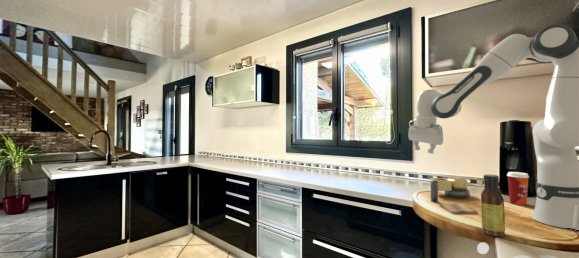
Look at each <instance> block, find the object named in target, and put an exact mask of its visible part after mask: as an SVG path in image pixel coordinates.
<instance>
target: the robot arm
mask: <svg viewBox="0 0 579 258" xmlns="http://www.w3.org/2000/svg"><path fill="white" fill-rule="evenodd" d="M523 60H528V61H532V62H536V63H541V64H553V73H552V76H551V80H550V84H549V87H548V88H547V89H548V90H547V93H546V97H545V114H544V118H543V119H541V120H538V121H537V122H536V123H535V124H534V125H533V127H532V131H531V132H532V138H533V146H534V153H535V157H536V169H537V170H536V171H537V173H536V176H537V178H536V179H537V181H536V182H535V192H536V198H535V204H534V205H535V206H534V210H533V213H532V215H531V217H532V219H533V220H534V221H537V222H538V223H541V224H546V225H548V226H551V227H557V228H562V229H567V228H572V229H577V230H579V159H578V158H579V157H578V155H577V152H576V151H577V150H576V147H579V39H578V37H577V35H576V33H575V31H574V30H573V29H572V28H571V27H570V26H568V25H566V24H561V23H559V24H558V23H557V24H552V25H548V26H546V27H544V28H541V29H540V30H539V31H538V32H537V33H536V34H535V35H534V36H533V37H529V36H528V37H527V35H524V34H522V33H521V34H520V33H513V34H510V35H509V36H506V37H505V38H504V39H502V40H501V41H499V43H497V44H496V45H495V46H493V47H492V48H491V49H490V50H489V51H488V52H487V53H485V55H483V56H482V58H481V59H480V60H479V61H478V62H477V64H476V65H475V66H474V68H472V70H471V71H470V72H469V74H467V75H466V76H465V77H464V78H463V79H462V80H461V81H459V83H457V84H456V85H455V86H454V87H453V88H452V89H450V90H449V91H447V92H446V93H442V92H440V91H438V90H437V89H427V90H423V91H421V92H420V93H419V94H418V97H417V100H416V101H417V102H416V112H417V113H416V116H415V119H413V120H410V121H409V122H408V125H409V128H408V134H407V135H408V140H409V141H413V145H414V150H415V151H420V149H421V147H420V145H419V143H424V144H429V146H430V147H429V148H428V149H427V153H428V154H434V152H435V151H434V150H435V149H436V147H437V146H441V145H443V144H444V131H443V127H442V126H441V125H440V124H438V123H437V119H449V118H453V117H455V116H457V115H458V114H459V113H460V112H461V111H462V110H461V109H462V102H463V101H464V100H466V99H467V98H468V97H469V96H470V95H471V94H473V93H474V92H475V91H476V90H477V89H478V88H480V87H481V86H483V85H485V84H488V83H492V82H495V81H497V80H499V79H500V78H502V77H503V76H505V75H506V74H508V72H511V71H512V69H514V68H515V67H516V66H517V65H518V64H519V63H520V62H522V61H523ZM572 229H571V230H572Z"/></svg>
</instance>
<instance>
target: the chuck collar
mask: <svg viewBox="0 0 579 258" xmlns="http://www.w3.org/2000/svg"><path fill="white" fill-rule="evenodd" d="M429 180H430V181H429V182H430V183H429V184H430V186H431V180H437V181H438V192H444V191H452V190H453V191H467V189H468V179H466V178H462V177H446V178H445V177H437V178H436V177H430V179H429Z"/></svg>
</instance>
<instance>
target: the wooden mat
mask: <svg viewBox="0 0 579 258" xmlns="http://www.w3.org/2000/svg"><path fill="white" fill-rule="evenodd" d="M439 207H440V208H442V209H444V210H445V211H447V212H449V213H450V214H453V215H457V214H458V215H460V214H462V215H463V214H465V215H466V214H471V215H472V214H477V215H478V211H477V210H476V209H474V208H473V207H470V206H468V205H466V204H464V203H439Z"/></svg>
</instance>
